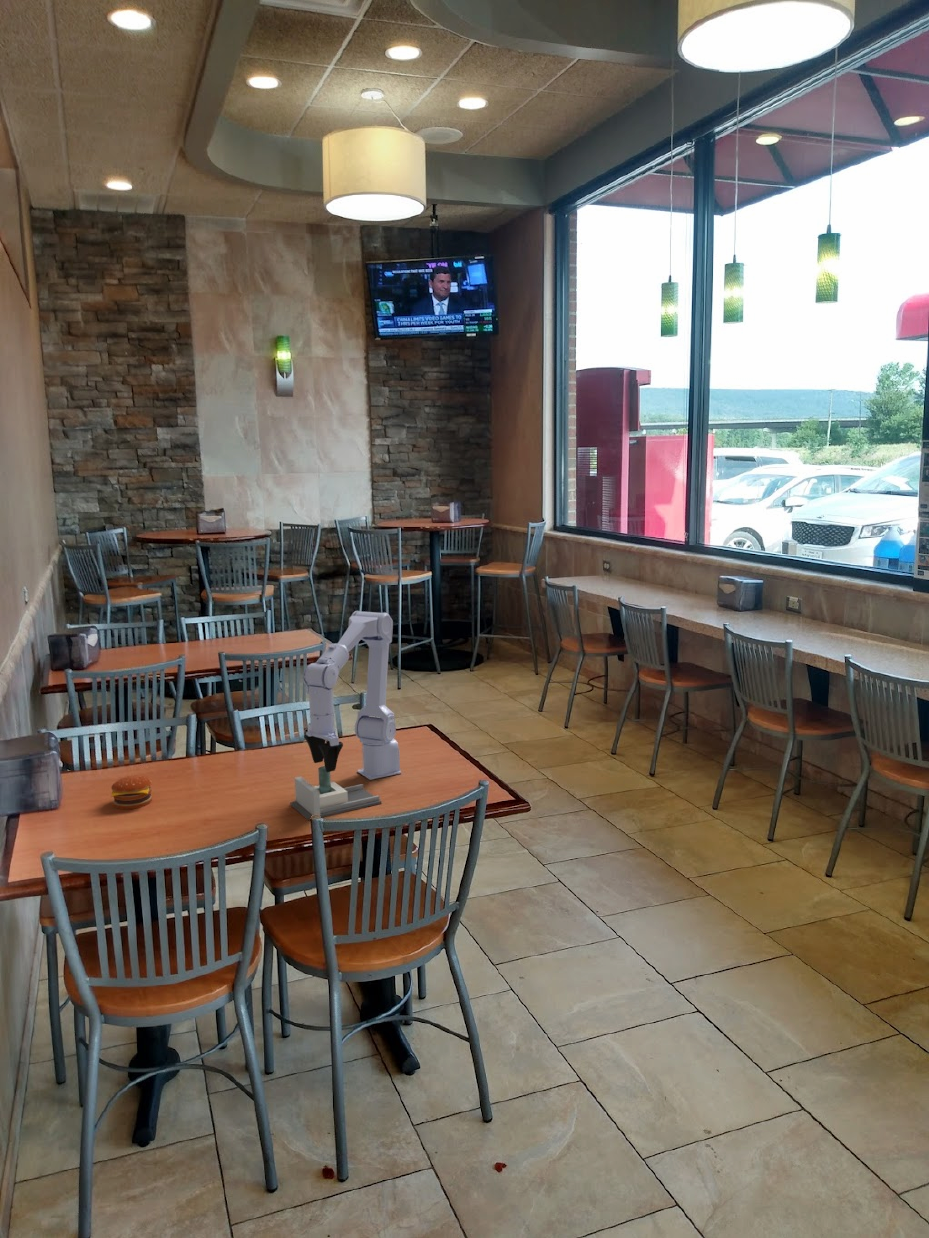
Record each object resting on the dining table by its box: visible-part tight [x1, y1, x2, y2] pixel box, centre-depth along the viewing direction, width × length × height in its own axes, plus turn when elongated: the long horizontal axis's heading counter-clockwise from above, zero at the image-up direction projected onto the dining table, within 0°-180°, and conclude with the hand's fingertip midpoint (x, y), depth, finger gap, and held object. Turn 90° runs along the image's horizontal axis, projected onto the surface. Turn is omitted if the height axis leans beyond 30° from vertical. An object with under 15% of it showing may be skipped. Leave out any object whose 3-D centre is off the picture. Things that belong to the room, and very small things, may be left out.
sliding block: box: [312, 781, 348, 808], centre depth 224 cm, size 8×8×4 cm
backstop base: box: [289, 776, 382, 821], centre depth 225 cm, size 19×12×7 cm, turn 121°
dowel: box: [317, 765, 332, 794], centre depth 223 cm, size 3×3×8 cm
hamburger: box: [110, 774, 153, 810], centre depth 228 cm, size 9×10×7 cm
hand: (324, 766), depth 223 cm, fingers open, 7 cm apart
